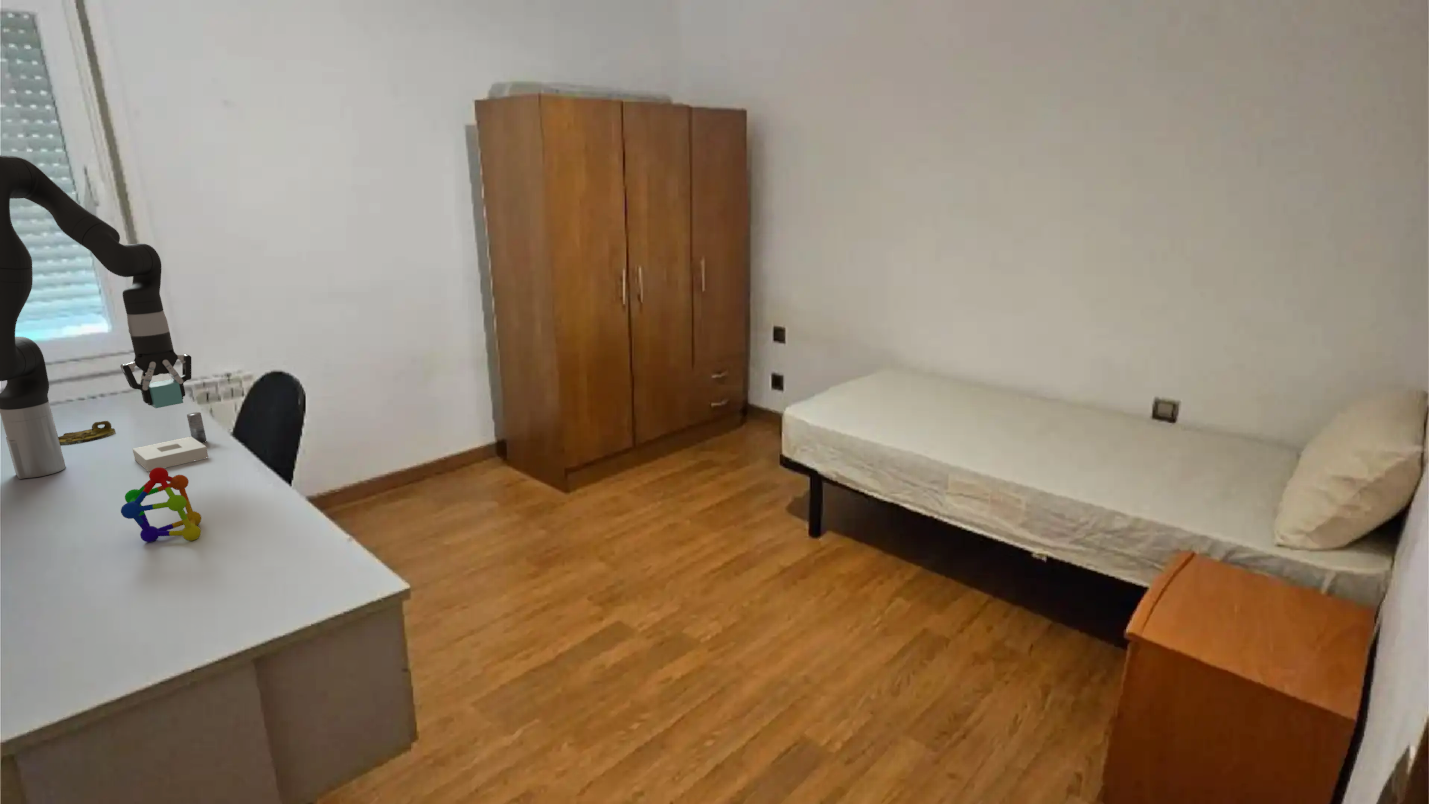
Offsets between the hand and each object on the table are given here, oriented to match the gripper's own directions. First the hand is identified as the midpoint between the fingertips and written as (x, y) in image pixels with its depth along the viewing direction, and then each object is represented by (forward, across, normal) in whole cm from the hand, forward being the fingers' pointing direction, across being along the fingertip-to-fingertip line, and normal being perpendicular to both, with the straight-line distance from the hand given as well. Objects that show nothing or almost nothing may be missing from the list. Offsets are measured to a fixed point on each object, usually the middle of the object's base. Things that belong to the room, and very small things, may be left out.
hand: (165, 401), depth 186 cm
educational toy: (+18, -14, -41) cm, 47 cm away
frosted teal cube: (+1, 0, 0) cm, 1 cm away
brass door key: (+18, -10, +54) cm, 57 cm away
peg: (+18, +11, +23) cm, 31 cm away
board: (+18, +1, +14) cm, 22 cm away
